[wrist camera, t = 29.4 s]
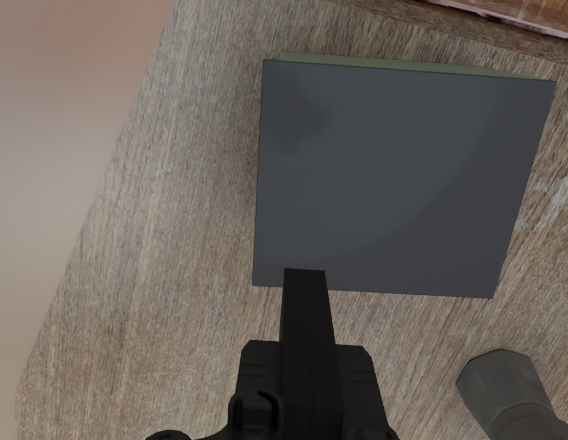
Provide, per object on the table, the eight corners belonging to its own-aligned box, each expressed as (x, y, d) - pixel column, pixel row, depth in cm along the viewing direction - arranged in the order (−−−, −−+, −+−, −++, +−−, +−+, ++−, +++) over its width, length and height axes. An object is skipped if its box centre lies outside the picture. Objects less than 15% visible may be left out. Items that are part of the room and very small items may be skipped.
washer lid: (252, 280, 33) (251, 286, 32) (263, 59, 27) (263, 59, 26) (488, 293, 33) (492, 299, 33) (550, 80, 27) (557, 81, 27)
